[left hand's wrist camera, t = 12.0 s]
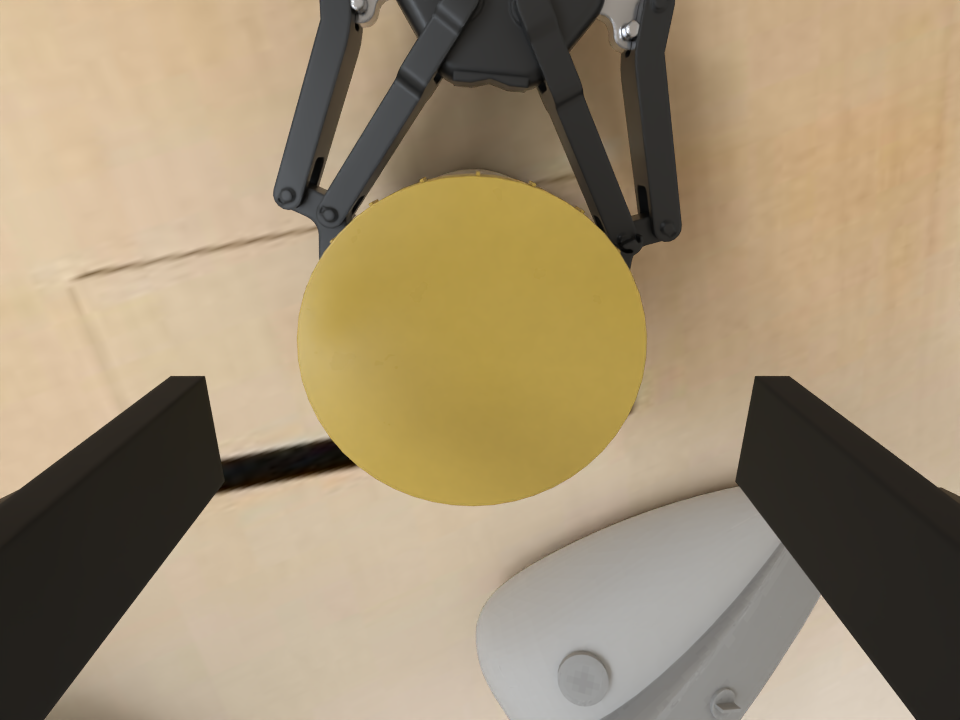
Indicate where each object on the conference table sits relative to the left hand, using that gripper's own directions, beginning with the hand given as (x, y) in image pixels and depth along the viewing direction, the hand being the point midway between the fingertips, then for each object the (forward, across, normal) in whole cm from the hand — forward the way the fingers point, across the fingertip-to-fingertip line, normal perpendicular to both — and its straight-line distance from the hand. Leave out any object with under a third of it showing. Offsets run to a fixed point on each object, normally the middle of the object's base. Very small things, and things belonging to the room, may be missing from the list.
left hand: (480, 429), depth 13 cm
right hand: (+15, -1, -4) cm, 15 cm away
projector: (+21, +12, -24) cm, 34 cm away
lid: (+6, 0, 0) cm, 6 cm away
